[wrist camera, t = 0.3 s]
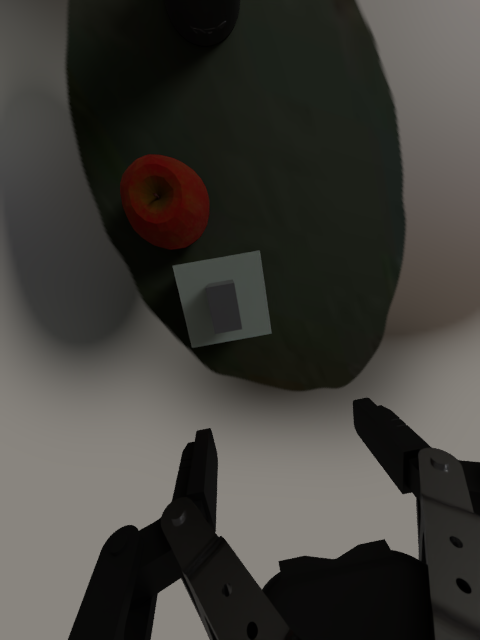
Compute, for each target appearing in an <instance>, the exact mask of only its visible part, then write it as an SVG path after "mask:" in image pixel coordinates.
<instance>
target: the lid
mask: <svg viewBox="0 0 480 640" xmlns="http://www.w3.org/2000/svg"><path fill="white" fill-rule="evenodd" d="M173 270H174V275H175V279H176V283H177V287H178V291H179V295H180V300H181V304H182V308H183V312H184V316H185V321H186V325H187V329H188V333H189V337H190V342H191V346H192V348H195V347H200V346H206V345H211V344H217V343H222V342H227V341H233V340H238V339H244V338H249V337H255V336H260V335H266V334H271V326H270V319H269V312H268V305H267V298H266V291H265V284H264V277H263V270H262V263H261V256H260V251H254V252H249V253H243V254H237V255H232V256H226V257H220V258H215V259H209V260H203V261H197V262H192V263H186V264H180V265H175V266H173Z"/></svg>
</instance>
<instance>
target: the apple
mask: <svg viewBox="0 0 480 640" xmlns="http://www.w3.org/2000/svg"><path fill="white" fill-rule="evenodd" d="M120 193H121V199H122V205H123V208H124V211H125V213H126V216H127V218H128V220H129V222H130V224H131V226H132V227H133V229H134V230H135V231H136V232H137V233H138V234H139V235H140V236H141V237H142V238H143V239H145V240H146V241H148V242H149V243H151V244H153V245H155V246H158V247H162V248H166V249H169V250H172V249H179V248H185V247H187V246H189V245H191V244H192V243H194V242H195V241H196V240H197V239H198V238H199V237H201V235H202V233H203V232H204V230H205V228H206V226H207V222H208V218H209V197H208V193H207V190H206V187H205V185H204V183H203V182H202V180H201V178H200V177H199V176H198V175H197V174H196V173H195V171H194V170H192V169H191V168H189V167H188V166H187V165H185V164H184V163H182V162H180V161H178V160H176V159H174V158H171V157H167V156H163V155H150V154H148V155H145V156H143V157H141V158H138V159H136V160H135V161H134V162H133V163H132V164H131V165H130V166H129V167H128V168H127V169H126V171H125V172H124V174H123V176H122V179H121V183H120Z"/></svg>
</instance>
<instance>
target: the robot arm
mask: <svg viewBox="0 0 480 640" xmlns="http://www.w3.org/2000/svg"><path fill="white" fill-rule="evenodd" d="M165 5H166V9H167V12H168V15H169V18H170V20H171V22H172V23H173V25H174V27H175V28H176V30H177V31H178V32H179V33H180V34H181V35H182V36H183V37H184V38H185V39H187V40H188V41H190V42H192V43H194V44H197V45H201V46H211V45H214V44H217V43H219V42H221V41H222V40H224V39H225V38H226V37H227V36H228V35H229V34H230V32H231V31H232V29H233V28H234V26H235V23H236V21H237V18H238V13H239V8H240V0H165ZM353 416H354V426H355V429H356V431H357V434H358V435H359V436H360V438H361V439H362V441H363V442H364V443H365V444H366V446H367V447H368V449H369V450H370V451H371V453H372V454H373V455H374V456H375V458H376V459H377V461H378V462H379V463H380V465H381V466H382V467H383V468H384V470H385V471H386V472H387V474H388V475H389V477H390V478H391V479H392V481H393V482H394V483H395V485H396V486H397V487H398V489H399V490H400V491H401V492H402V494H406V493H411V492H412V493H413V494H414V495H415V497H416V498H417V500H416V506H417V523H418V524H417V525H418V544H419V560H418V559H416V558H414V557H412V556H410V555H407V554H404V553H402V552H398V551H393V550H390V548H389V546H388V544H387V543H386V541H385V539H384V540H379V541H374V542H369V543H365V544H360V545H357V546H356V547H354V548H353V549H351V550H350V551H348V552H346V553H345V554H343V555H342V556H340V557H339V558H337V559H326V558H318V557H310V556H302V557H297V558H292V559H287V560H283V561H279V566H280V572H279V573H278V574H276V575H275V576H274V577H273V578H271V579H270V580H269V581H268V583H267V584H266V585H265V586H264V588H263V589H261V588H260V587H259V585H258V584H257V583H256V581H255V580H254V579H253V577H252V576H251V574H250V573H249V572H248V570H247V569H246V568H245V566H244V565H243V563H242V562H241V561H240V559H239V558H238V557H237V556H236V554H235V553H234V551H233V550H232V548H231V547H230V546H229V544H228V543H227V542H226V540H225V539H224V538H223V537H222V536H220V537H218V536H217V534H216V533H215V531H216V503H217V471H218V458H217V451H216V447H215V443H214V439H213V435H212V431H211V429H210V428H209V429H203V430H199V431H197V432H196V438H195V442H190V443H188V444H187V446H186V447H185V449H184V450H183V452H182V457H181V463H180V466H179V471H178V476H177V480H176V485H175V490H174V494H173V499H172V502H171V503H170V504H169V505H168V506H167V507H166V509H165V510H164V512H163V514H162V517H161V518H160V519H159V520H157V521H155V522H154V523H152V524H150V525H148V526H147V527H145V528H143V529H141V530H140V531H138V529H137V528H136V527H135V526H133V525H127V526H124V527H122V528H120V529H118V530H117V531H116V532H115V533H113V534H112V535H111V536H110V537H109V538H108V540H107V541H106V543H105V544H104V546H103V548H102V550H101V552H100V555H99V558H98V561H97V563H96V566H95V569H94V571H93V574H92V576H91V579H90V582H89V585H88V587H87V590H86V593H85V596H84V598H83V601H82V603H81V606H80V609H79V612H78V614H77V617H76V619H75V622H74V625H73V628H72V631H71V633H70V635H69V638H68V640H150V639H151V633H152V627H153V620H154V614H155V607H156V601H157V594H158V593H159V592H160V591H162V590H163V589H165V588H166V587H168V586H169V585H171V584H172V583H174V582H175V581H177V580H178V579H180V578H181V579H182V581H183V583H184V585H185V587H186V589H187V591H188V594H189V596H190V598H191V600H192V602H193V604H194V606H195V608H196V610H197V612H198V614H199V617H200V618H201V621H202V623H203V625H204V627H205V630H206V632H207V634H208V637H209V639H210V640H480V462H470V461H460V460H457V459H456V458H455V457H454V456H452V455H451V454H449V453H447V452H445V451H443V450H440V449H436V448H431V447H430V446H429V445H428V444H427V443H426V442H425V441H424V440H423V439H422V438H421V437H419V436H418V435H417V434H416V433H415V432H414V431H413V430H412V429H411V428H410V427H409V426H408V425H406V424H405V423H404V422H403V421H402V420H401V419H399V417H398V416H397V415H395V413H393V412H392V411H391V410H389V409H387V408H385V407H383V406H382V405H380V406H377V405H376V404H374V402H372V401H371V400H370V399H369V398H363V399H358V400H354V401H353Z"/></svg>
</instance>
